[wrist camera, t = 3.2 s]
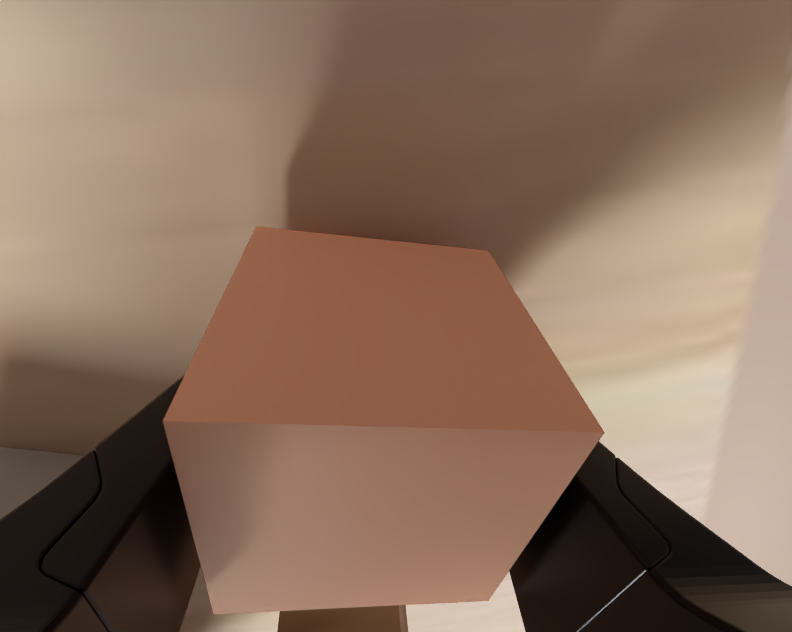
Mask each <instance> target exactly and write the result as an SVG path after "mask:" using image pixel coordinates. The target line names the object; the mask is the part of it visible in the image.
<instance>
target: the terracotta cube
mask: <svg viewBox="0 0 792 632" xmlns="http://www.w3.org/2000/svg"><path fill="white" fill-rule="evenodd" d="M163 424H164V428H165V432H166V436H167V440H168V443H169V447H170V451H171V455H172V458H173V462H174V466H175V470H176V474H177V477H178V481H179V485H180V489H181V493H182V496H183V500H184V504H185V508H186V512H187V515H188V519H189V523H190V527H191V531H192V534H193V538H194V542H195V546H196V550H197V553H198V557H199V561H200V565H201V569H202V572H203V576H204V580H205V584H206V588H207V591H208V595H209V599H210V603H211V607H212V610H213V614H232V613H252V612H272V611H292V610H312V609H332V608H352V607H373V606H393V605H413V604H433V603H453V602H473V601H489V599H490V598H491V596H492V595H493V593H494V592H495V590H496V589H497V587H498V586H499V585H500V583H501V582H502V580H503V579H504V577H505V576H506V574H507V573H508V571H509V570H510V569H511V567H512V566H513V564H514V563H515V561H516V560H517V558H518V557H519V556H520V554H521V553H522V551H523V550H524V548H525V547H526V545H527V544H528V542H529V541H530V540H531V538H532V537H533V535H534V534H535V532H536V531H537V529H538V528H539V527H540V525H541V524H542V522H543V521H544V519H545V518H546V516H547V515H548V513H549V512H550V511H551V509H552V508H553V506H554V505H555V503H556V502H557V500H558V499H559V498H560V496H561V495H562V493H563V492H564V490H565V489H566V487H567V486H568V484H569V483H570V482H571V480H572V479H573V477H574V476H575V474H576V473H577V471H578V470H579V469H580V467H581V466H582V464H583V463H584V461H585V460H586V458H587V457H588V455H589V454H590V453H591V451H592V450H593V448H594V447H595V445H596V444H597V442H598V441H599V440H600V438H601V437H602V435H603V434H604V431H603V430H602V428H601V426H600V425H599V423H598V422H597V420H596V419H595V417H594V415H593V414H592V412H591V411H590V409H589V408H588V406H587V404H586V403H585V401H584V400H583V398H582V397H581V395H580V393H579V392H578V390H577V389H576V387H575V386H574V384H573V382H572V381H571V379H570V378H569V376H568V375H567V373H566V371H565V370H564V368H563V367H562V365H561V364H560V362H559V360H558V359H557V357H556V356H555V354H554V353H553V351H552V349H551V348H550V346H549V345H548V343H547V342H546V340H545V338H544V337H543V335H542V334H541V332H540V331H539V329H538V327H537V326H536V324H535V323H534V321H533V320H532V318H531V316H530V315H529V313H528V312H527V310H526V309H525V307H524V305H523V304H522V302H521V301H520V299H519V298H518V296H517V294H516V293H515V291H514V290H513V288H512V287H511V285H510V283H509V282H508V280H507V279H506V277H505V276H504V274H503V272H502V271H501V269H500V268H499V266H498V265H497V263H496V261H495V260H494V258H493V257H492V255H491V254H490V252H489V251H487V250H477V249H468V248H458V247H448V246H439V245H429V244H420V243H410V242H401V241H391V240H381V239H372V238H362V237H353V236H343V235H334V234H324V233H314V232H305V231H295V230H286V229H276V228H267V227H257V226H256V228H255V230H254V232H253V234H252V236H251V238H250V240H249V242H248V245H247V247H246V249H245V251H244V253H243V255H242V257H241V259H240V261H239V263H238V265H237V267H236V270H235V272H234V274H233V276H232V278H231V280H230V282H229V284H228V286H227V288H226V290H225V292H224V294H223V297H222V299H221V301H220V303H219V305H218V307H217V309H216V311H215V313H214V315H213V317H212V319H211V322H210V324H209V326H208V328H207V330H206V332H205V334H204V336H203V338H202V340H201V342H200V344H199V346H198V349H197V351H196V353H195V355H194V357H193V359H192V361H191V363H190V365H189V367H188V369H187V371H186V374H185V376H184V378H183V380H182V382H181V384H180V386H179V388H178V390H177V392H176V394H175V396H174V398H173V401H172V403H171V405H170V407H169V409H168V411H167V413H166V415H165V417H164V419H163Z"/></svg>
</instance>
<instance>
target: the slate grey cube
mask: <svg viewBox="0 0 792 632" xmlns="http://www.w3.org/2000/svg"><path fill="white" fill-rule="evenodd" d="M83 456H84V455H75V454H66V453H56V452H46V451H37V450H27V449H18V448H8V447H0V519H1V518H2V517H3V516H5V515H6V514H7V513H9V512H10V511H12V510H13V509H14V508H16V507H17V506H19V505H20V504H21V503H23V502H24V501H26V500H27V499H28V498H30V497H31V496H33V495H34V494H35V493H37V492H38V491H39V490H41V489H42V488H43V487H45V486H46V485H47V484H48V483H50V482H51V481H52V480H54V479H55V478H56V477H58V476H59V475H60V474H61V473H63V472H64V471H65V470H67V469H68V468H69V467H70V466H72V465H73V464H74V463H75V462H77V461H78V460H79V459H80V458H82V457H83Z"/></svg>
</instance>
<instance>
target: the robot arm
mask: <svg viewBox="0 0 792 632" xmlns="http://www.w3.org/2000/svg"><path fill="white" fill-rule="evenodd" d="M184 376H185V375H184ZM184 376H182V377H181V378H180V379H179V380H177V381H176V382H175V383H174V384H172V385H171V386H170V387H169V388H168V389H166V390H165V391H164V392H163V393H161V394H160V395H159V396H158V397H156V398H155V399H154V400H153V401H151V402H150V403H149V404H148V405H146V406H145V407H144V408H143V409H141V410H140V411H139V412H138V413H137V414H135V415H134V416H133V417H132V418H130V419H129V420H128V421H127V422H125V423H124V424H123V425H122V426H120V427H119V428H118V429H117V430H115V431H114V432H113V433H112V434H110V435H109V436H108V437H107V438H105V439H104V440H103V441H102V442H101V443H99V444H98V445H97V446H96V447H95V448H94V450H95V451H93V450H91V451H89V452H88V453H87V454H85V455H84V456H83V457H82V458H80V459H79V460H78V461H77V462H75V463H74V464H73V465H72V466H70V467H69V468H68V469H67V470H65V471H64V472H63V473H61V474H60V475H59V476H58V477H56V478H55V479H54V480H52V481H51V482H50V483H48V484H47V485H46V486H45V487H43V488H42V489H41V490H39V491H38V492H37V493H35V494H34V495H33V496H31V497H30V498H28V499H27V500H26V501H24V502H23V503H21V504H20V505H19V506H17V507H16V508H14V509H13V510H12V511H10V512H9V513H7V514H6V515H5V516H3V517H2V518H1V519H0V632H179V631H180V628H181V625H182V622H183V619H184V616H185V613H186V609H187V606H188V603H189V600H190V597H191V594H192V591H193V588H194V585H195V581H196V578H197V575H198V572H199V569H200V566H201V565H200V561H199V557H198V553H197V550H196V546H195V542H194V538H193V534H192V531H191V527H190V523H189V519H188V515H187V512H186V508H185V504H184V500H183V496H182V493H181V489H180V485H179V481H178V477H177V474H176V470H175V466H174V462H173V458H172V455H171V451H170V447H169V443H168V440H167V436H166V432H165V428H164V424H163V419H164V417H165V415H166V413H167V411H168V409H169V407H170V405H171V403H172V401H173V398H174V396H175V394H176V392H177V390H178V388H179V386H180V384H181V382H182V380H183V378H184ZM509 571H510V575H511V579H512V583H513V586H514V590H515V594H516V597H517V601H518V605H519V608H520V612H521V616H522V620H523V623H524V627H525V631H526V632H792V586H790V585H788V584H786V583H784V582H782V581H781V580H779V579H777V578H776V577H774V576H772V575H771V574H769V573H768V572H766V571H765V570H763V569H762V568H761V567H759V566H758V565H756V564H755V563H754V562H752V561H751V560H750V559H748V558H747V557H746V556H744V555H743V554H742V553H740V552H739V551H738V550H736V549H735V548H734V547H732V546H731V545H730V544H728V543H727V542H726V541H724V540H723V539H721V538H720V537H719V536H717V535H716V534H715V533H713V532H712V531H711V530H709V529H708V528H707V527H705V526H704V525H703V524H701V523H700V522H699V521H697V520H696V519H695V518H693V517H692V516H691V515H689V514H688V513H687V512H685V511H684V510H683V509H681V508H680V507H679V506H677V505H676V504H675V503H674V502H672V501H671V500H670V499H668V498H667V497H666V496H664V495H663V494H662V493H660V492H659V491H658V490H657V489H655V488H654V487H653V486H652V485H651V484H649V483H648V482H647V481H646V480H644V479H643V478H642V477H641V476H639V475H638V474H637V473H636V472H635V471H633V470H632V469H631V468H630V467H629V466H627V465H626V464H625V463H624V462H623V461H622V460H620V459H619V458H615V455H614V454H613V453H612V452H611V451H610V450H608V449H607V448H606V447H605V446H604V445H602V444H601V443H600V442H599V441H598V442H597V444H596V445H595V447H594V448H593V450H592V451H591V453H590V454H589V455H588V457H587V458H586V460H585V461H584V463H583V464H582V466H581V467H580V469H579V470H578V471H577V473H576V474H575V476H574V477H573V479H572V480H571V482H570V483H569V484H568V486H567V487H566V489H565V490H564V492H563V493H562V495H561V496H560V498H559V499H558V500H557V502H556V503H555V505H554V506H553V508H552V509H551V511H550V512H549V513H548V515H547V516H546V518H545V519H544V521H543V522H542V524H541V525H540V527H539V528H538V529H537V531H536V532H535V534H534V535H533V537H532V538H531V540H530V541H529V542H528V544H527V545H526V547H525V548H524V550H523V551H522V553H521V554H520V556H519V557H518V558H517V560H516V561H515V563H514V564H513V566H512V567H511V569H510V570H509Z"/></svg>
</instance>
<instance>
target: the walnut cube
mask: <svg viewBox="0 0 792 632" xmlns="http://www.w3.org/2000/svg"><path fill="white" fill-rule="evenodd" d="M278 632H408V626H407V616H406V606H405V605H393V606H373V607H352V608H332V609H312V610H292V611H280V615H279V623H278Z"/></svg>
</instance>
